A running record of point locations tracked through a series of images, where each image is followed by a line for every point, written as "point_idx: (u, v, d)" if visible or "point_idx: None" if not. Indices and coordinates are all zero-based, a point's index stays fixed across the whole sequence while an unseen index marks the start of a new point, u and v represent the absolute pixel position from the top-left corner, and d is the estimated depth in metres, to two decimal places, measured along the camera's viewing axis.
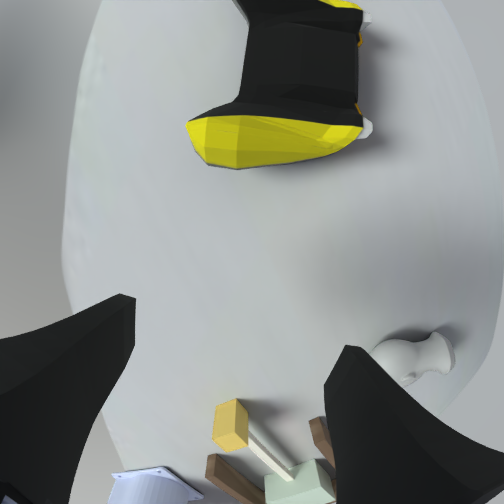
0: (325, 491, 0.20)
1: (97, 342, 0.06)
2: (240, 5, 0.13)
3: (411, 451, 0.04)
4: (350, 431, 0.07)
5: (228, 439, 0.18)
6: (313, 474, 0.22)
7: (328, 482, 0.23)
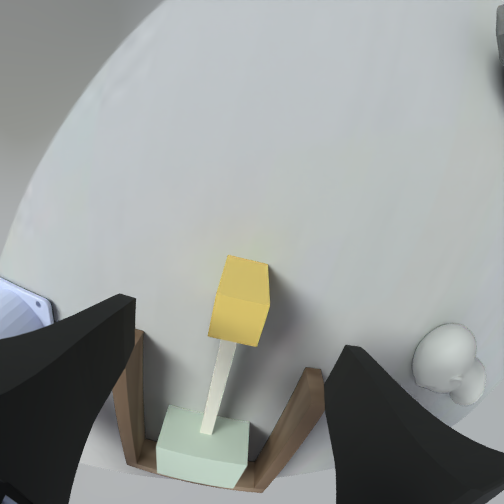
0: (241, 473, 0.15)
1: (97, 342, 0.06)
2: None
3: (411, 451, 0.04)
4: (350, 431, 0.07)
5: (242, 313, 0.11)
6: (241, 442, 0.17)
7: None
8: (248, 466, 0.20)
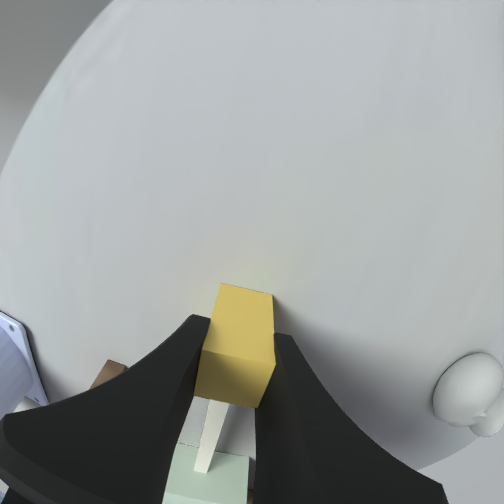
0: None
1: (190, 371, 0.06)
2: None
3: (300, 456, 0.04)
4: (266, 425, 0.07)
5: (238, 373, 0.07)
6: (240, 481, 0.13)
7: None
8: (248, 495, 0.17)
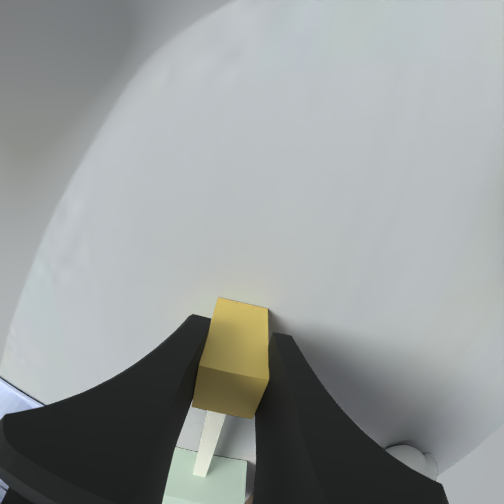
0: None
1: (190, 371, 0.06)
2: None
3: (300, 456, 0.04)
4: (267, 425, 0.07)
5: (234, 387, 0.08)
6: (238, 484, 0.14)
7: None
8: None
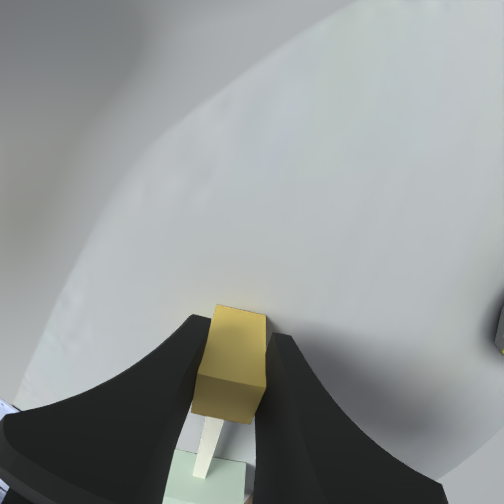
0: None
1: (190, 371, 0.06)
2: None
3: (300, 456, 0.04)
4: (266, 425, 0.07)
5: (232, 394, 0.08)
6: (237, 486, 0.14)
7: None
8: None
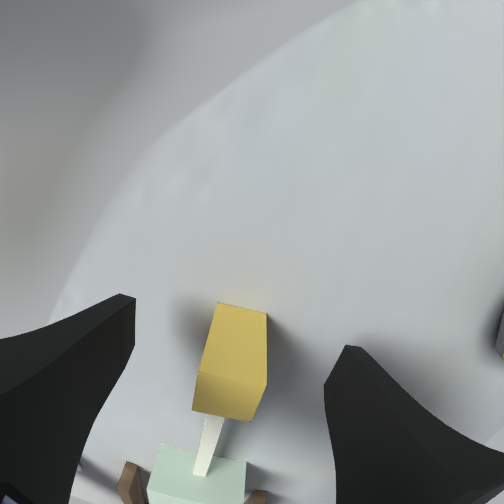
0: None
1: (97, 342, 0.06)
2: None
3: (410, 451, 0.04)
4: (350, 431, 0.07)
5: (232, 391, 0.08)
6: (237, 484, 0.14)
7: None
8: None
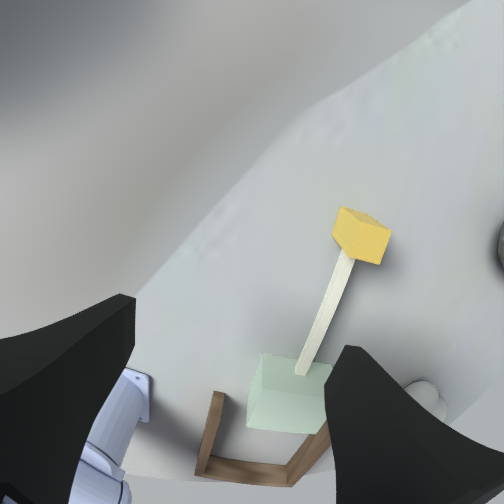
0: None
1: (97, 342, 0.06)
2: None
3: (411, 451, 0.04)
4: (350, 431, 0.07)
5: (374, 237, 0.14)
6: None
7: None
8: (281, 468, 0.28)
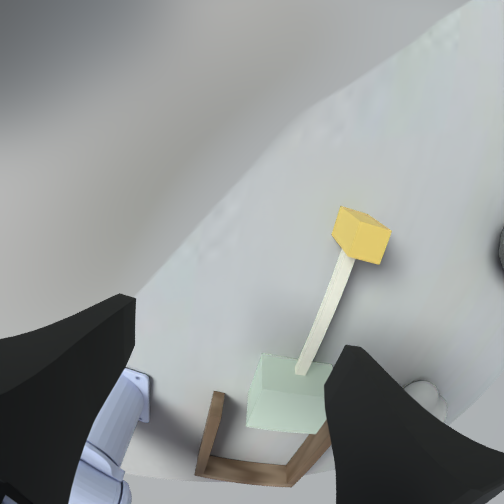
0: None
1: (97, 342, 0.06)
2: None
3: (411, 451, 0.04)
4: (350, 431, 0.07)
5: (374, 237, 0.14)
6: None
7: None
8: (281, 468, 0.28)
